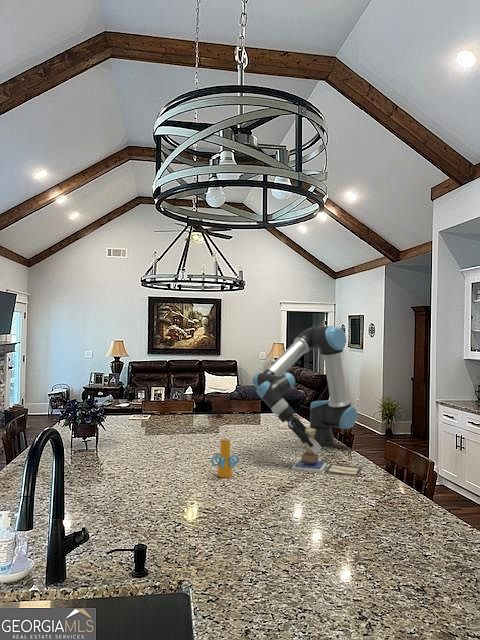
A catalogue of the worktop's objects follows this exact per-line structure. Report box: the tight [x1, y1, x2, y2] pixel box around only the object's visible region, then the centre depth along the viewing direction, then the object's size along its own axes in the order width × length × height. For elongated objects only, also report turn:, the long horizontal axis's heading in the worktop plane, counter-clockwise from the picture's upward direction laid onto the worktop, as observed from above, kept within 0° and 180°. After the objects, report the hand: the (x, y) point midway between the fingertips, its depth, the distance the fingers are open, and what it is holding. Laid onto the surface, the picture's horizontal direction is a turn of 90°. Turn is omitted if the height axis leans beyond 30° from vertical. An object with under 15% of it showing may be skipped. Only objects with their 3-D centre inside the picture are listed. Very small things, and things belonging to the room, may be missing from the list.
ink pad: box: [291, 459, 328, 473], centre depth 240 cm, size 13×13×2 cm
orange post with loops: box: [210, 438, 240, 479], centre depth 224 cm, size 12×10×15 cm
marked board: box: [324, 463, 363, 478], centre depth 235 cm, size 14×14×1 cm
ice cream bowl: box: [211, 395, 228, 419], centre depth 368 cm, size 11×11×15 cm
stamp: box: [300, 427, 319, 464], centre depth 240 cm, size 7×6×14 cm
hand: (318, 450), depth 239 cm, fingers closed on stamp, 4 cm apart
